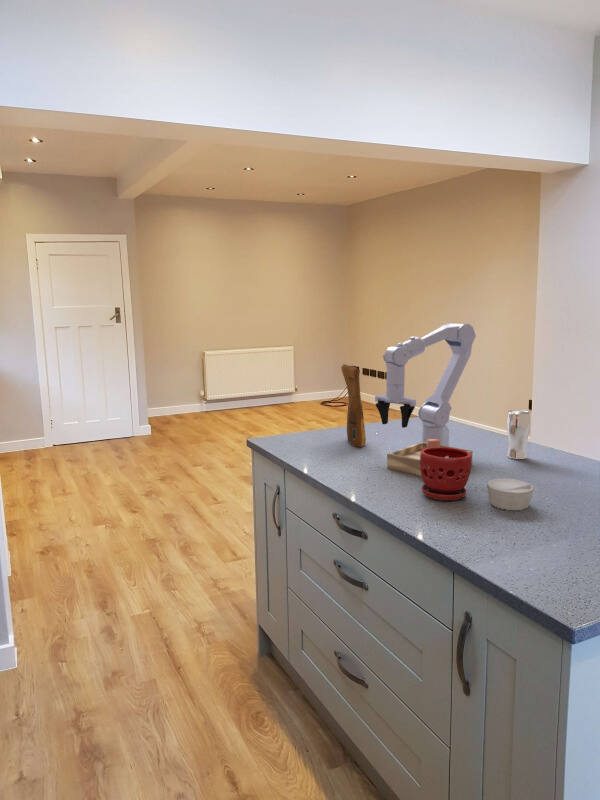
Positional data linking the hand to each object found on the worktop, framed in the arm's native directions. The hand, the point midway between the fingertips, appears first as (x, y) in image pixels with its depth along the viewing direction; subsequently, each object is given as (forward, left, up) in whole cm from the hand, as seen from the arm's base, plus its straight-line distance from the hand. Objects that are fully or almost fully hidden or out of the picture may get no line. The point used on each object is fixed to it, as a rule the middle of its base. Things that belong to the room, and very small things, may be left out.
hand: (394, 425), depth 200 cm
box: (+3, +15, -10) cm, 19 cm away
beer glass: (-24, +31, -11) cm, 41 cm away
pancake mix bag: (-7, -22, -11) cm, 25 cm away
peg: (+1, +15, -10) cm, 18 cm away
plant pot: (+24, +32, -11) cm, 41 cm away
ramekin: (+20, +48, -11) cm, 53 cm away
